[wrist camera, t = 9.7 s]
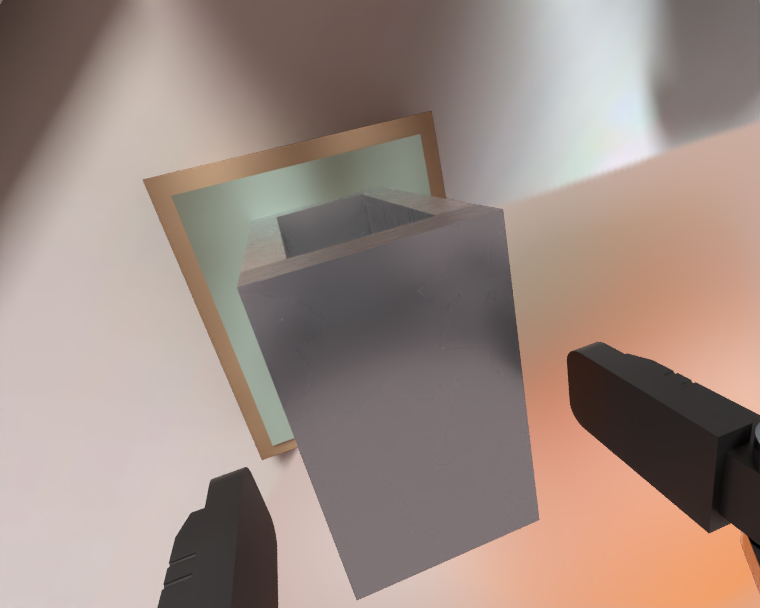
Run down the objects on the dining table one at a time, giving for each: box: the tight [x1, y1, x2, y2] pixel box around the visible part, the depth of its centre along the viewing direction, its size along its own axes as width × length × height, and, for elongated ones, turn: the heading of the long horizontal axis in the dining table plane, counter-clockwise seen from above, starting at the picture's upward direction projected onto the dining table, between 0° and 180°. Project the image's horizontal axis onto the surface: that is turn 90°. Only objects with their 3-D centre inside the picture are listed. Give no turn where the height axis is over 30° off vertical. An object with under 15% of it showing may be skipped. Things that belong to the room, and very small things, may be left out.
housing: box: [237, 186, 539, 600], centre depth 14 cm, size 6×9×10 cm, turn 14°
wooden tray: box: [143, 111, 446, 460], centre depth 21 cm, size 12×14×3 cm
